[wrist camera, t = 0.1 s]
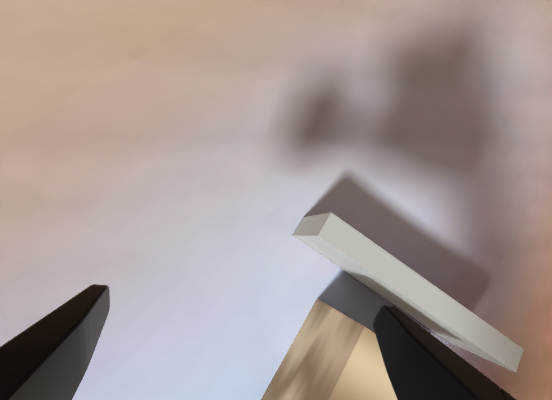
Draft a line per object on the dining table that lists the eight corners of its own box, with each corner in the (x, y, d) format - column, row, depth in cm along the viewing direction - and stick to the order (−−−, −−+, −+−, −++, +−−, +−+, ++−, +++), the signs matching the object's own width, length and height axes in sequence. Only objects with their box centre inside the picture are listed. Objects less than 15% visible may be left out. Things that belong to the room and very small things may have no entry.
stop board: (451, 343, 28) (515, 372, 22) (292, 235, 25) (317, 235, 19) (458, 325, 28) (523, 349, 22) (303, 217, 25) (331, 212, 20)
